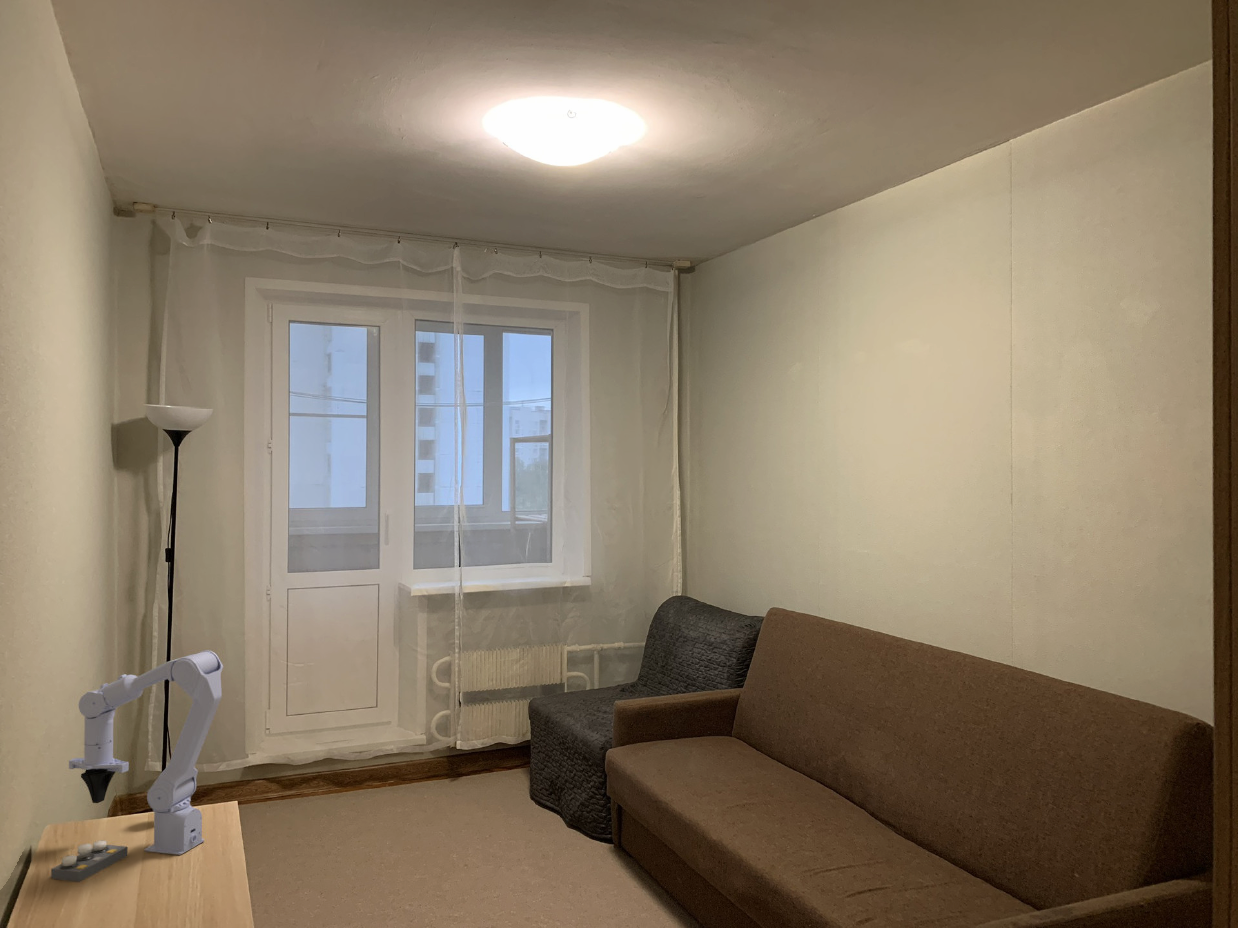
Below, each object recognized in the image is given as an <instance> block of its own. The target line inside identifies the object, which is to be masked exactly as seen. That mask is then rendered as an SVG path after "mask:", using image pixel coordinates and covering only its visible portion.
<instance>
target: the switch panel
mask: <svg viewBox="0 0 1238 928" xmlns="http://www.w3.org/2000/svg"><path fill="white" fill-rule="evenodd" d="M128 848H129V847H128V846H124V845H115V844H106V848H105V849H103V850H99V851H94V850H93V847H92V851H91V852H90V853H87V854H78V855H76V856H77V862H76V864H74V865H71V866H62V863H61V864H58V865H56V866H55V867H52V868H51V869H50V871H51V872H50V874H51V875H50V879H51V878H53V879H52V880H61V881H68V882H76V883H77V882H78V883H80V882H81V881H83V880H86V879H87V878H89V877H91V876H93V875H95V874H96V873H98V872H100V871H101V870H104V869H106V868H108V867H110V866H111V865H113V864H115V863H117V862H118V861H121V860H123V859H124V858H126V857H128V855H129V854H128Z"/></svg>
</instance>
